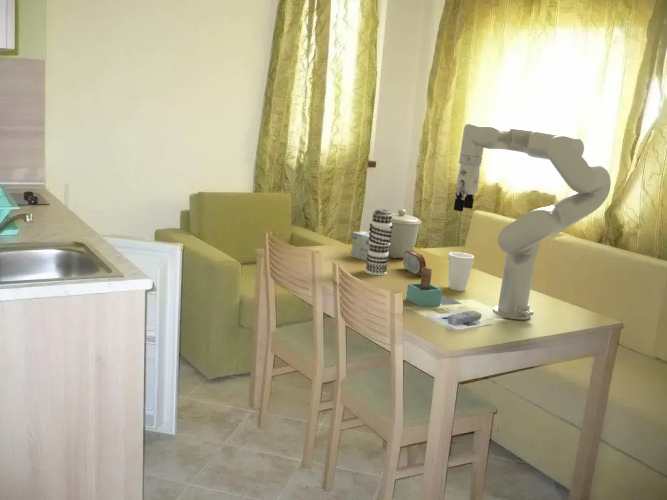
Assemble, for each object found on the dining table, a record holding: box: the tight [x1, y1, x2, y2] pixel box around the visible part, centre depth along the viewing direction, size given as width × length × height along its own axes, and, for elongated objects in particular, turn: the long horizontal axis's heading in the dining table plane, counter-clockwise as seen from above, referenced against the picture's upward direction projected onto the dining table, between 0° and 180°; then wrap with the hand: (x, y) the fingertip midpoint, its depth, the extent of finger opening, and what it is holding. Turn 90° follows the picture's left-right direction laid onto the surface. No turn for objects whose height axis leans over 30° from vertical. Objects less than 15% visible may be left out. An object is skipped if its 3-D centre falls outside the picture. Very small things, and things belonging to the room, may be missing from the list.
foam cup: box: [447, 251, 475, 292], centre depth 262 cm, size 10×9×13 cm
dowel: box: [420, 266, 433, 290], centre depth 237 cm, size 3×3×12 cm
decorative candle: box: [365, 208, 393, 276], centre depth 272 cm, size 9×9×25 cm
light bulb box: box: [350, 231, 370, 262], centre depth 296 cm, size 11×7×11 cm, turn 43°
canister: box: [388, 208, 422, 259], centre depth 306 cm, size 18×18×21 cm
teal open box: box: [405, 282, 443, 307], centre depth 238 cm, size 8×8×6 cm
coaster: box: [440, 296, 463, 306], centre depth 243 cm, size 8×8×1 cm
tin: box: [402, 250, 427, 277], centre depth 280 cm, size 15×3×8 cm, turn 22°
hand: (463, 209), depth 243 cm, fingers open, 9 cm apart
